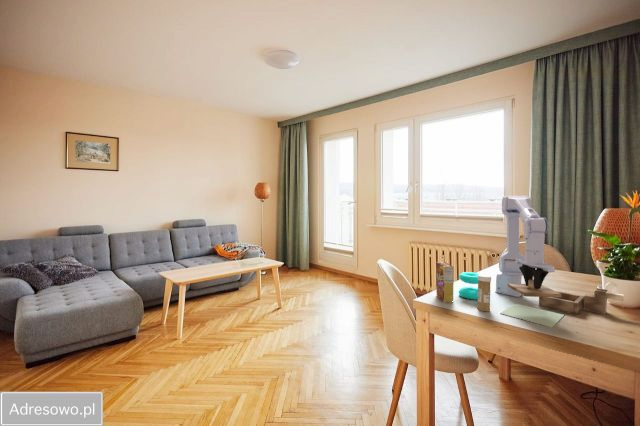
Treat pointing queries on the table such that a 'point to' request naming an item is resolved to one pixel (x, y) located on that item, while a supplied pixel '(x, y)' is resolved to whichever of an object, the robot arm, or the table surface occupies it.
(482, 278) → the sprinkles bottle
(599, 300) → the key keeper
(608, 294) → the cream rectangular bar
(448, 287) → the candy box
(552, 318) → the mat
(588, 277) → the table surface
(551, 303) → the toolbox
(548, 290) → the lid
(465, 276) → the donuts
